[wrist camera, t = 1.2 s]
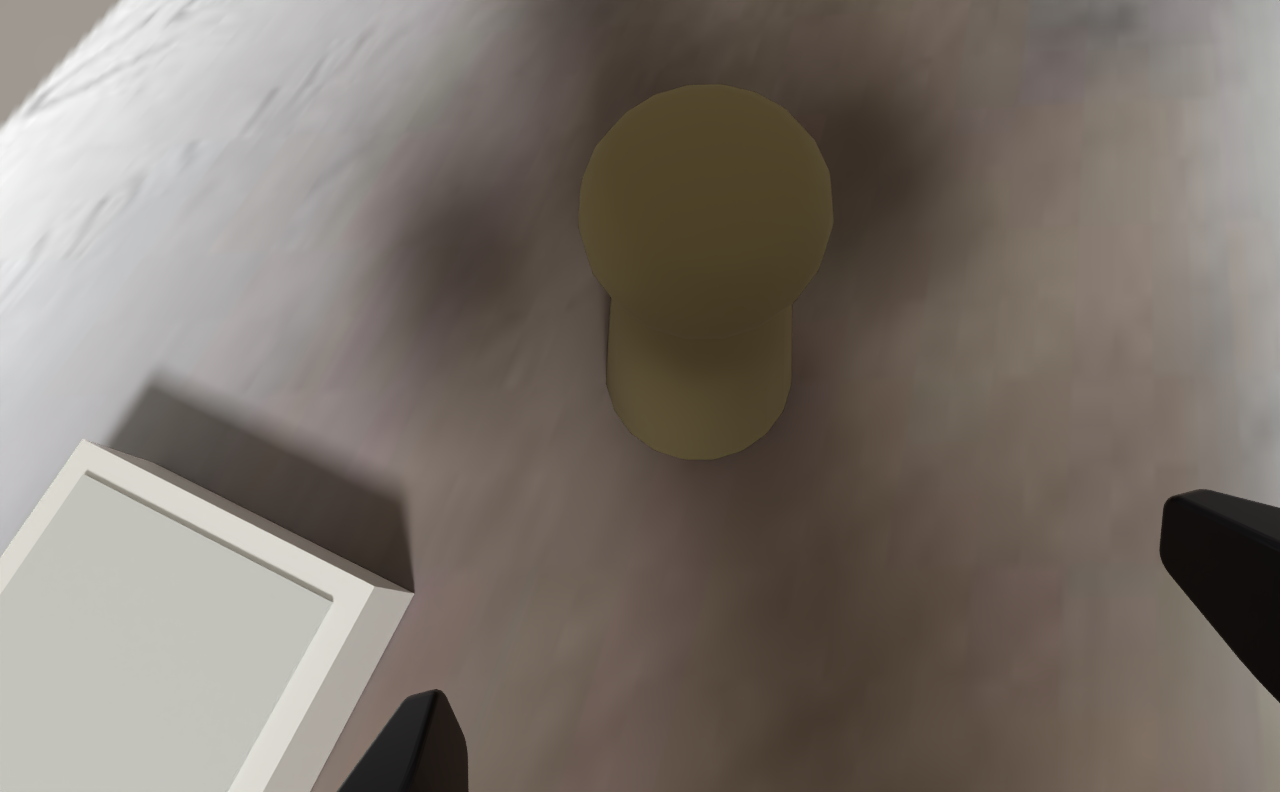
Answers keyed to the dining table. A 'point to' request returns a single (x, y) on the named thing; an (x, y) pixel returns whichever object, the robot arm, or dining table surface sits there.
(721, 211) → the cork
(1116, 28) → the dining table surface
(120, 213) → the dining table surface
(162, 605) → the tray
